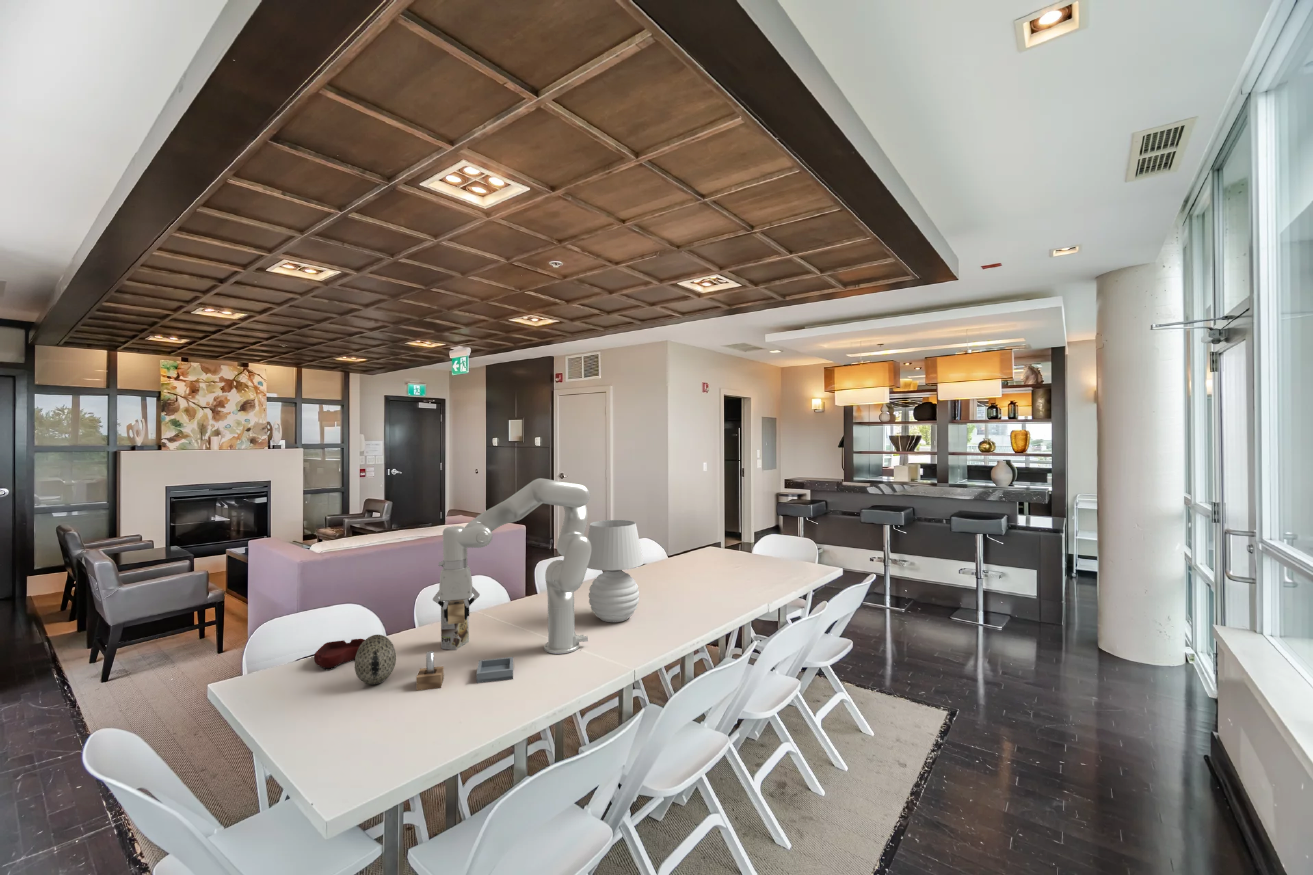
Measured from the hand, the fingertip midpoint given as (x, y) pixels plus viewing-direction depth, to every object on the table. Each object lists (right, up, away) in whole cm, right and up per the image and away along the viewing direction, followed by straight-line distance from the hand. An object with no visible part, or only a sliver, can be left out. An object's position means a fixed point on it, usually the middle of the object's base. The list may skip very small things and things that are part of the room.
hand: (457, 618), depth 189 cm
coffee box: (-9, -17, +24) cm, 31 cm away
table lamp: (+48, -16, +52) cm, 73 cm away
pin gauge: (-5, -17, -10) cm, 21 cm away
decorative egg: (-23, -18, -9) cm, 30 cm away
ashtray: (-45, -18, +11) cm, 50 cm away
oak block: (0, -1, 0) cm, 1 cm away
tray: (+14, -17, -3) cm, 22 cm away
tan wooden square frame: (-5, -17, -10) cm, 21 cm away
